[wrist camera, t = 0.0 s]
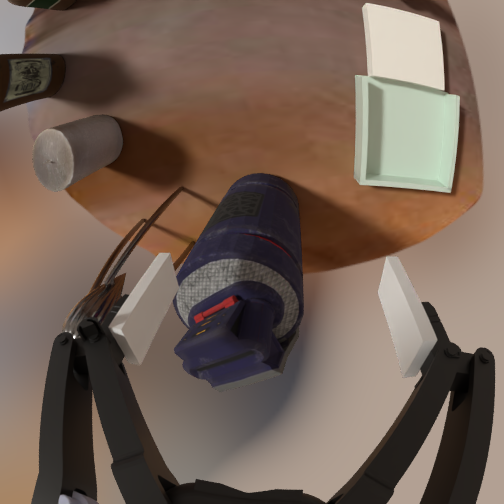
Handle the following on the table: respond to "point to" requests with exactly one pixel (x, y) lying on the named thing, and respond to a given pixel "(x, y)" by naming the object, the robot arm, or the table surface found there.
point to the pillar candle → (75, 150)
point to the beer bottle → (44, 3)
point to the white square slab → (403, 46)
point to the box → (405, 135)
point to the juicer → (110, 292)
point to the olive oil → (29, 77)
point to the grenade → (243, 286)
